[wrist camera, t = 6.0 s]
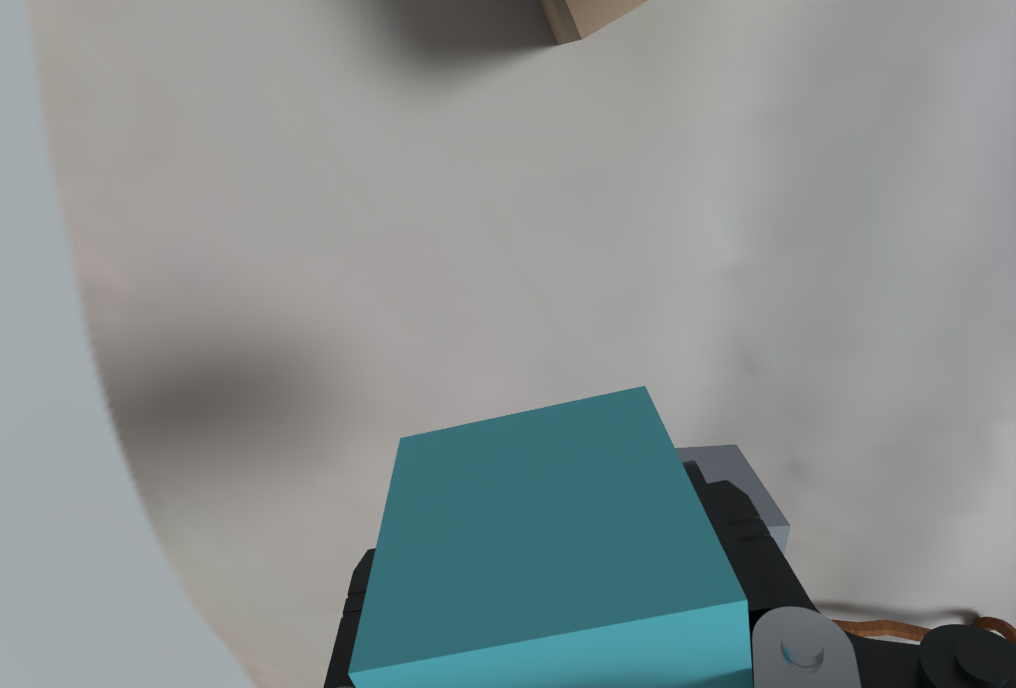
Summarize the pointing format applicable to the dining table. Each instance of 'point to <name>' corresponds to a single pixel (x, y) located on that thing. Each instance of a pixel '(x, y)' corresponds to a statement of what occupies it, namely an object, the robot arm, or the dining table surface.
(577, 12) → the walnut block
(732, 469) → the slate gray block
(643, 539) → the teal block
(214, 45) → the dining table surface
